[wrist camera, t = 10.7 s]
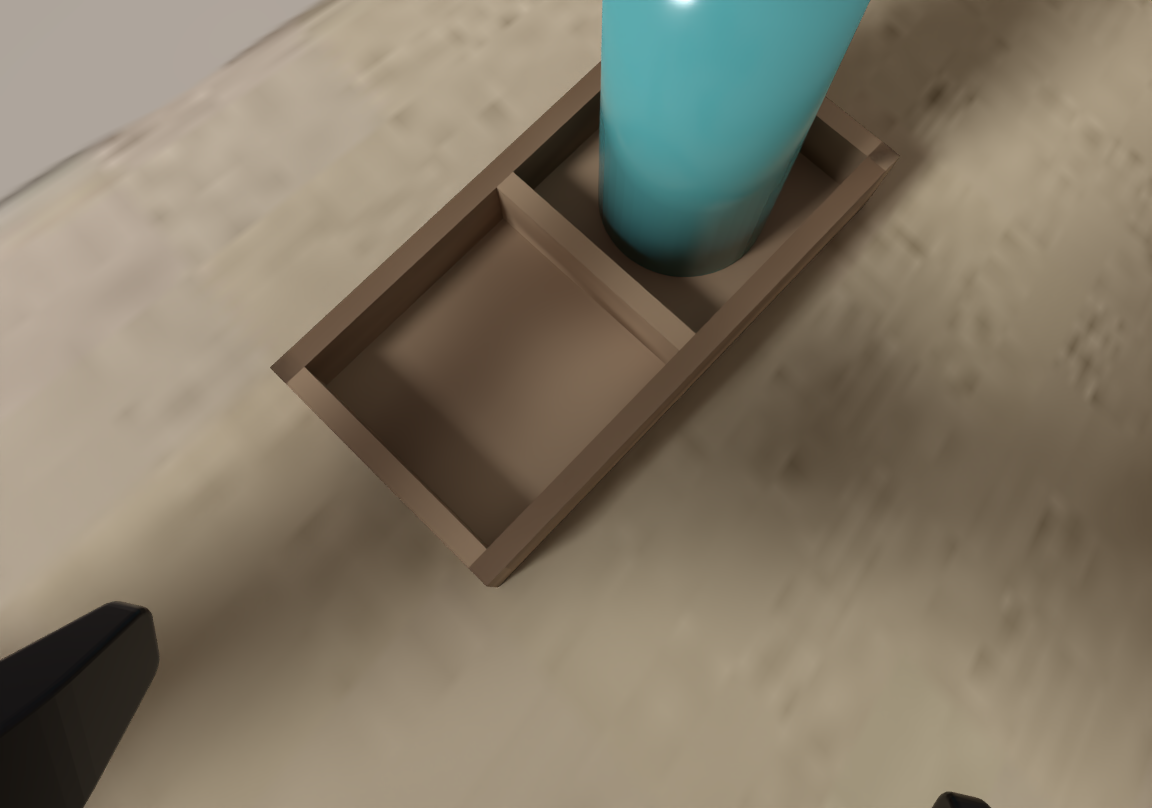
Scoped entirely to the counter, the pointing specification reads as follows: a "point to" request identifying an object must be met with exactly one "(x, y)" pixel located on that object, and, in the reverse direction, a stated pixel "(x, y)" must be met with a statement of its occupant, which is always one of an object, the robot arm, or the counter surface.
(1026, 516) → the counter surface
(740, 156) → the bottle
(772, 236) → the caddy
